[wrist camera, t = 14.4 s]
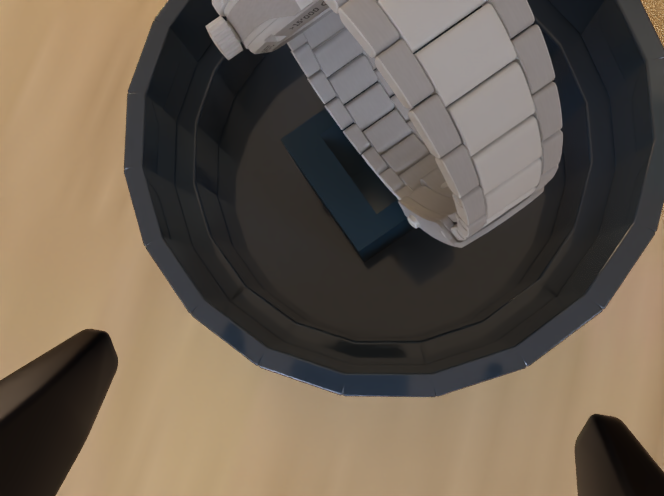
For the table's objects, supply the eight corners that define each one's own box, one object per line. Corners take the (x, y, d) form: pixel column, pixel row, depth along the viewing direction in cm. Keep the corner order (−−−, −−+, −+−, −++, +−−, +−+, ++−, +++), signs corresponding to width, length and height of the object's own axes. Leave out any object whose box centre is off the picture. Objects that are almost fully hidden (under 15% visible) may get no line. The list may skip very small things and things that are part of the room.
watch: (389, 44, 18) (390, -337, 8) (522, 214, 17) (753, 43, 6) (268, 129, 19) (100, -127, 8) (390, 304, 17) (393, 290, 6)
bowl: (343, 459, 17) (325, 518, 12) (122, 140, 20) (34, 83, 15) (688, 201, 17) (811, 156, 12) (419, -88, 20) (429, -221, 15)
